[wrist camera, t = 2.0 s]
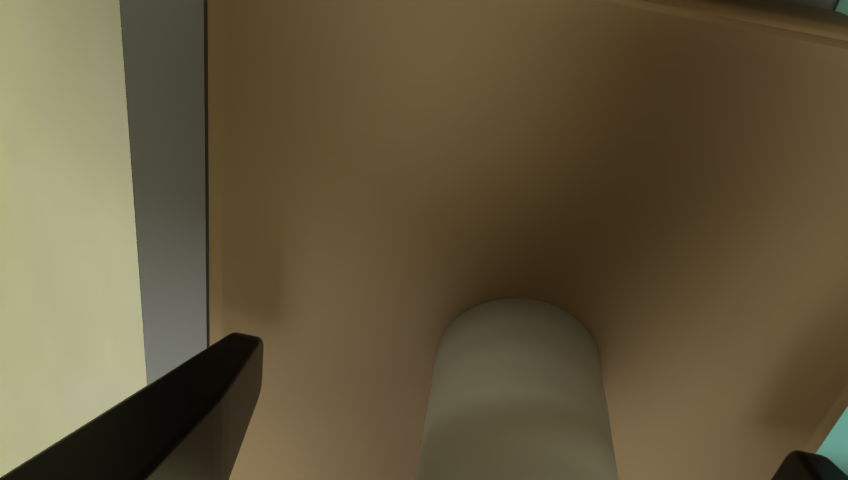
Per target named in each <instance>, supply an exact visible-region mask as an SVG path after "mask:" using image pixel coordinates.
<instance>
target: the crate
mask: <svg viewBox="0 0 848 480" xmlns="http://www.w3.org/2000/svg"><path fill="white" fill-rule="evenodd" d="M208 150H209V316H210V346H211V345H213V344H214V343H216V342H217V341H219V340H221V339H222V338H224V337H225V336H227V335H229V334H230V333H234V332H239V333H244V334H248V335H253V336H258V337H260V338H261V339H262V340H263V344H264V351H263V372H262V386H261V391H260V395H259V398H258V401H257V404H256V407H255V409H254V412H253V415H252V418H251V420H250V423H249V426H248V429H247V431H246V434H245V437H244V440H243V442H242V445H241V448H240V450H239V453H238V456H237V459H236V461H235V464H234V467H233V470H232V472H231V475H230V478H229V480H771V479H772V477H773V476H774V474H775V473H776V471H777V469H778V468H779V466H780V465H781V463H782V462H783V460H784V459H785V457H786V456H787V455H788V454H789V453H790V452H792V451H795V450H800V451H805V452H809V453H814V454H815V453H816V452H817V451H818V449H819V448H820V446H821V445H822V443H823V442H824V440H825V439H826V437H827V436H828V434H829V433H830V432H831V430H832V429H833V427H834V426H835V424H836V423H837V421H838V420H839V418H840V417H841V415H842V414H843V412H844V411H845V410H846V408H847V407H848V16H847V15H845V14H843V13H841V12H837V11H832V10H827V9H822V8H817V7H812V6H806V5H801V4H796V3H791V2H786V1H781V0H208Z"/></svg>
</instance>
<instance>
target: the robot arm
mask: <svg viewBox="0 0 848 480" xmlns="http://www.w3.org/2000/svg"><path fill="white" fill-rule="evenodd" d="M263 351H264V344H263V340H262V339H261V338H260V337H258V336H253V335H248V334H244V333H239V332H234V333H230V334H229V335H227V336H225V337H224V338H222V339H221V340H219V341H217V342H216V343H214V344H213V345H211V346H209V347H208V348H206V349H205V350H203V351H201V352H200V353H198V354H197V355H195V356H193V357H192V358H190V359H189V360H187V361H185V362H184V363H182V364H181V365H179V366H177V367H176V368H174V369H173V370H171V371H169V372H168V373H166V374H165V375H163V376H162V377H160V378H158V379H157V380H155V381H154V382H152V383H150V384H149V385H147V386H146V387H144V388H142V389H141V390H139V391H138V392H136V393H134V394H133V395H131V396H130V397H128V398H126V399H125V400H123V401H122V402H120V403H118V404H117V405H115V406H114V407H112V408H111V409H109V410H107V411H106V412H104V413H103V414H101V415H99V416H98V417H96V418H95V419H93V420H91V421H90V422H88V423H87V424H85V425H83V426H82V427H80V428H79V429H77V430H75V431H74V432H72V433H71V434H69V435H67V436H66V437H64V438H63V439H61V440H60V441H58V442H56V443H55V444H53V445H52V446H50V447H48V448H47V449H45V450H44V451H42V452H40V453H39V454H37V455H36V456H34V457H32V458H31V459H29V460H28V461H26V462H24V463H23V464H21V465H20V466H18V467H16V468H15V469H13V470H12V471H10V472H9V473H7V474H5V475H4V476H2V477H1V478H0V480H229V478H230V475H231V472H232V470H233V467H234V464H235V461H236V459H237V456H238V453H239V450H240V448H241V445H242V442H243V440H244V437H245V434H246V431H247V429H248V426H249V423H250V420H251V418H252V415H253V412H254V409H255V407H256V404H257V401H258V398H259V395H260V391H261V386H262V372H263ZM771 480H848V476H847V475H846V474H845V473H844V472H843V471H842V470H841V469H840V468H839V467H838V466H836V465H835V464H834V463H833V462H832V461H831V460H830V459H829V458H827V457H825V456H822V455H819V454H814V453H809V452H805V451H800V450H795V451H792V452H790V453H789V454H788V455H787V456H786V457H785V459H784V460H783V462H782V463H781V465H780V466H779V468H778V469H777V471H776V473H775V474H774V476H773V477H772V479H771Z"/></svg>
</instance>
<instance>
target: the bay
mask: <svg viewBox="0 0 848 480" xmlns="http://www.w3.org/2000/svg"><path fill="white" fill-rule="evenodd" d="M781 1H786V2H791V3H796V4H801V5H806V6H812V7H817V8H822V9H827V10H832V11H837V12H841V13H843V14H845V15H847V16H848V0H781ZM120 14H121V28H122V42H123V56H124V70H125V84H126V97H127V111H128V125H129V139H130V153H131V167H132V181H133V195H134V208H135V222H136V236H137V250H138V264H139V278H140V292H141V305H142V319H143V333H144V347H145V361H146V375H147V385H149V384H150V383H152V382H154V381H155V380H157V379H158V378H160V377H162V376H163V375H165V374H166V373H168V372H169V371H171V370H173V369H174V368H176V367H177V366H179V365H181V364H182V363H184V362H185V361H187V360H189V359H190V358H192V357H193V356H195V355H197V354H198V353H200V352H201V351H203V350H205V349H206V348H208V347H209V346H210V316H209V150H208V0H120ZM815 454H819V455H822V456H825V457H827V458H829V459H830V460H831V461H832V462H833V463H834V464H835V465H836V466H838V467H839V468H840V469H841V470H842V471H843V472H844V473H845V474H846V475H847V476H848V407H847V408H846V410H845V411H844V412H843V414H842V415H841V417H840V418H839V420H838V421H837V423H836V424H835V426H834V427H833V429H832V430H831V432H830V433H829V434H828V436H827V437H826V439H825V440H824V442H823V443H822V445H821V446H820V448H819V449H818V451H817V452H816V453H815Z"/></svg>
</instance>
